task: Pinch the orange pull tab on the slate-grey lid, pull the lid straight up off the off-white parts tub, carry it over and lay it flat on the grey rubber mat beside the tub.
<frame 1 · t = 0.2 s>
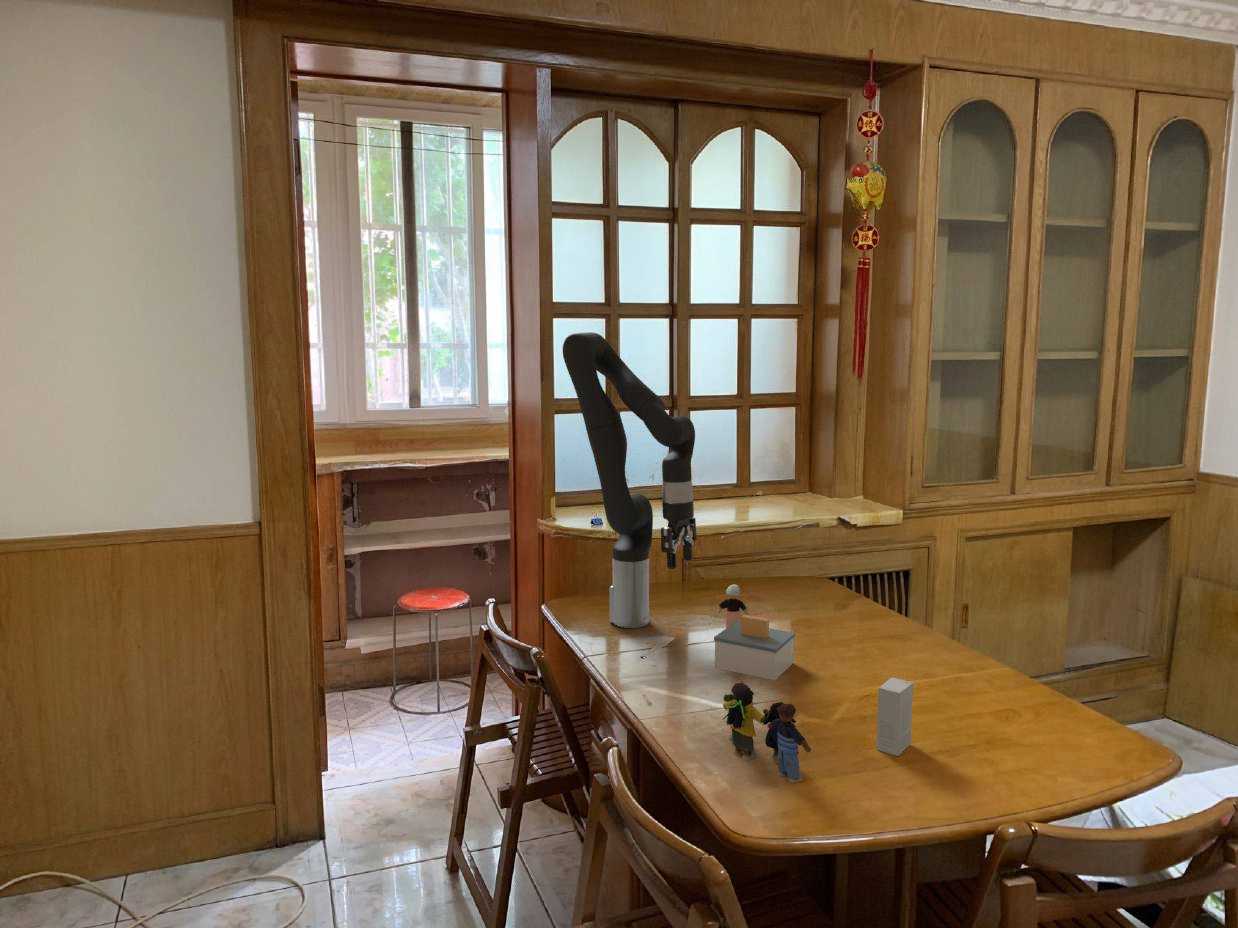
hand: (679, 564, 219), 17 cm above the table, tool pointing down, fingers open, 8 cm apart
doll family: (763, 761, 158), on the table
lid: (754, 642, 198), point 6 cm above the table, touching tub
grandmother figurine: (732, 635, 220), on the table
tub: (754, 668, 199), on the table
steel part: (738, 664, 199), point 1 cm above the table, touching tub
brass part: (769, 665, 198), point 1 cm above the table, touching tub
mat: (685, 654, 207), on the table
skincare box: (893, 748, 162), on the table
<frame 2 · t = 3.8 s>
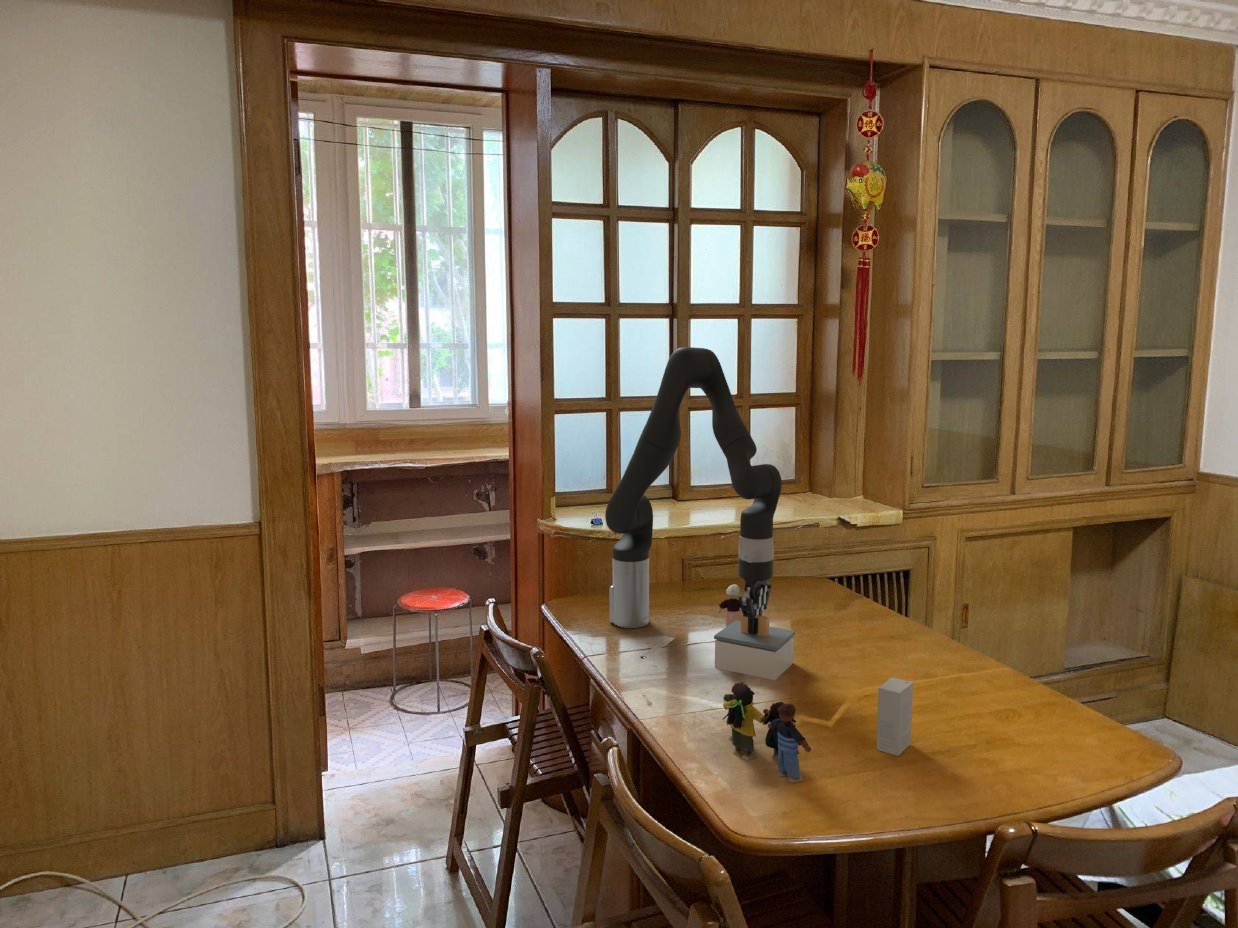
hand: (754, 631, 197), 8 cm above the table, tool pointing down, fingers closed on lid
lid: (754, 640, 198), point 6 cm above the table, touching gripper
everything else where it was.
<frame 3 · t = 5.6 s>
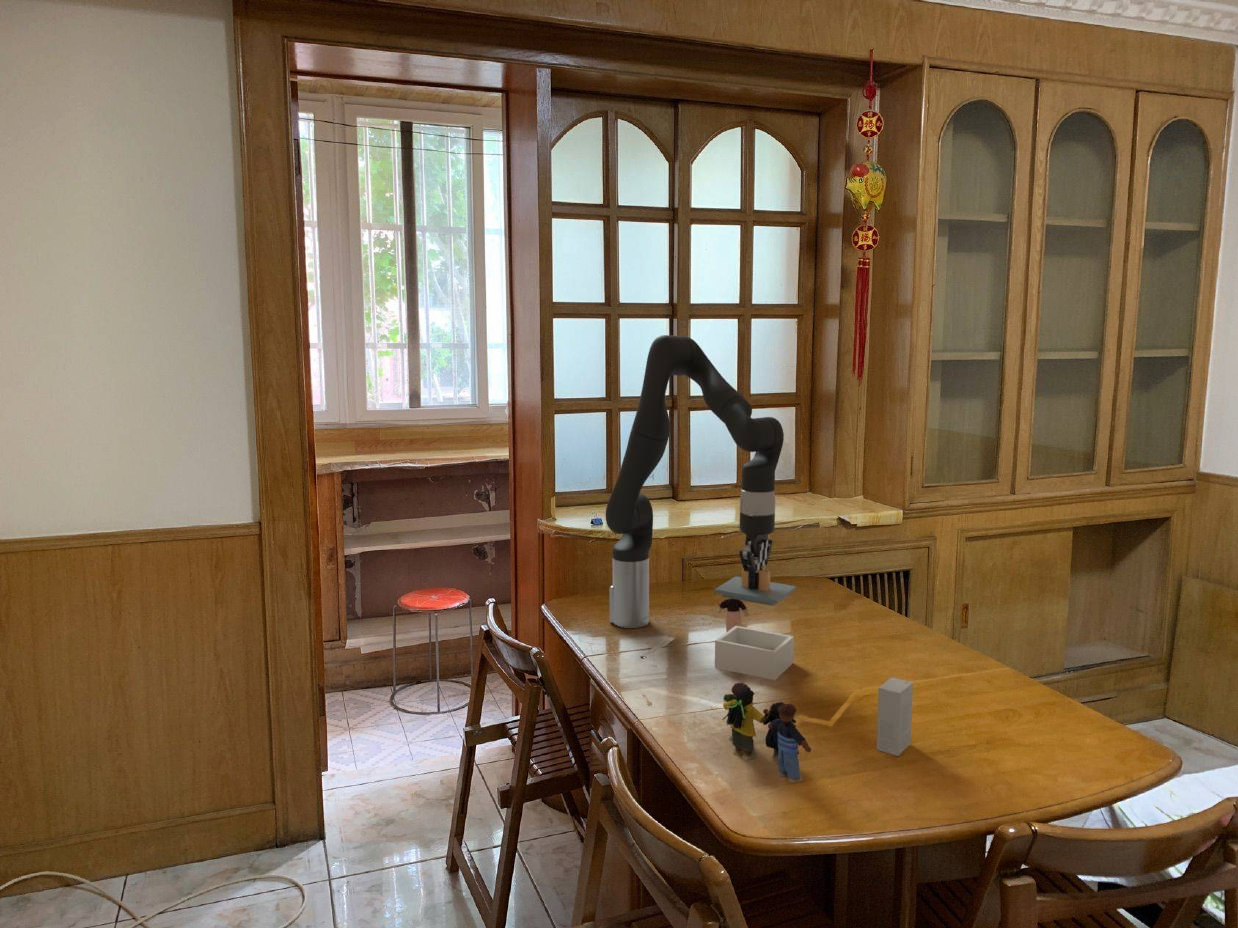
hand: (755, 587, 196), 19 cm above the table, tool pointing down, fingers closed on lid
lid: (755, 595, 196), point 17 cm above the table, touching gripper
everything else where it was.
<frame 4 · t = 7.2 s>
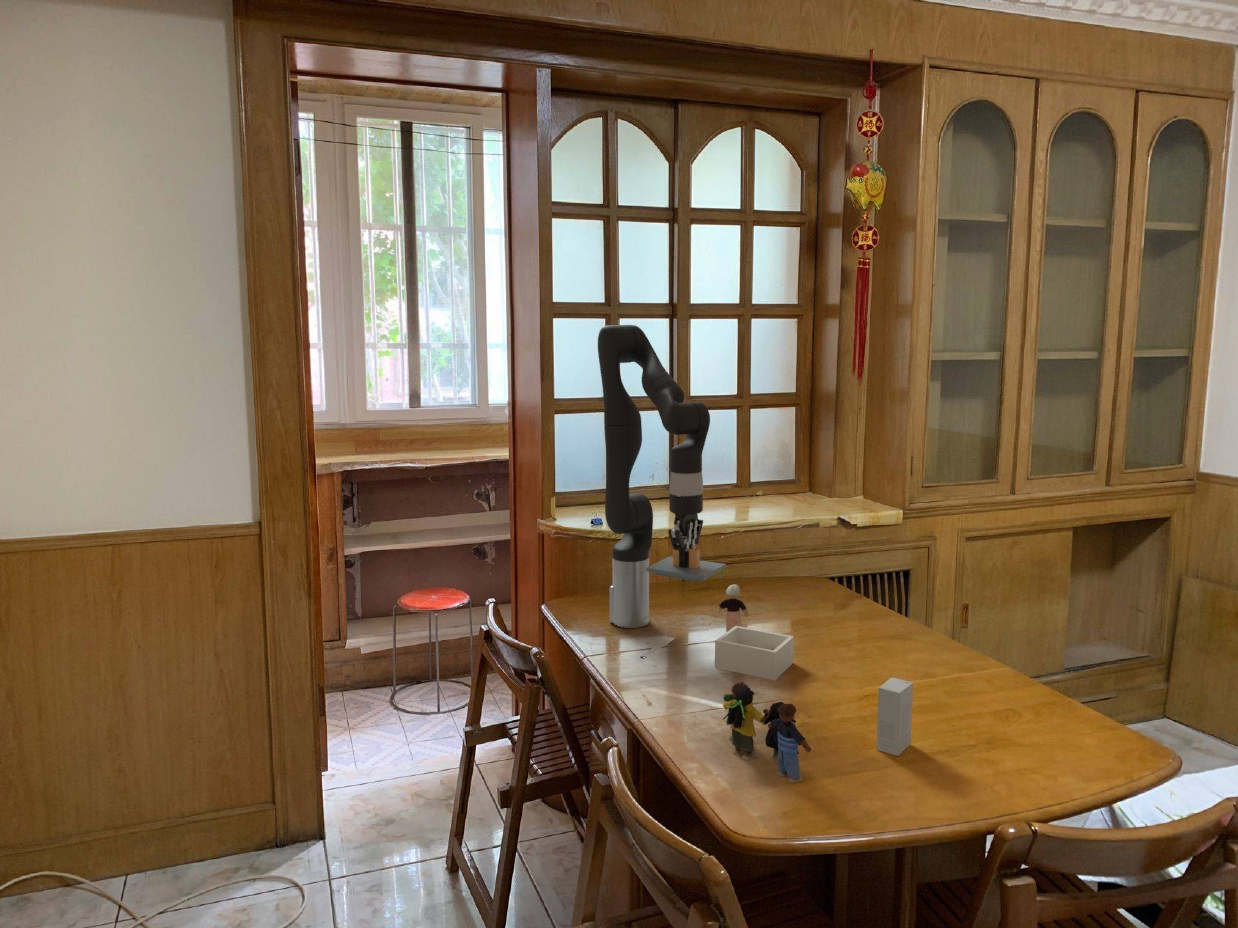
hand: (685, 565, 204), 21 cm above the table, tool pointing down, fingers closed on lid
lid: (686, 573, 204), point 19 cm above the table, touching gripper
everything else where it was.
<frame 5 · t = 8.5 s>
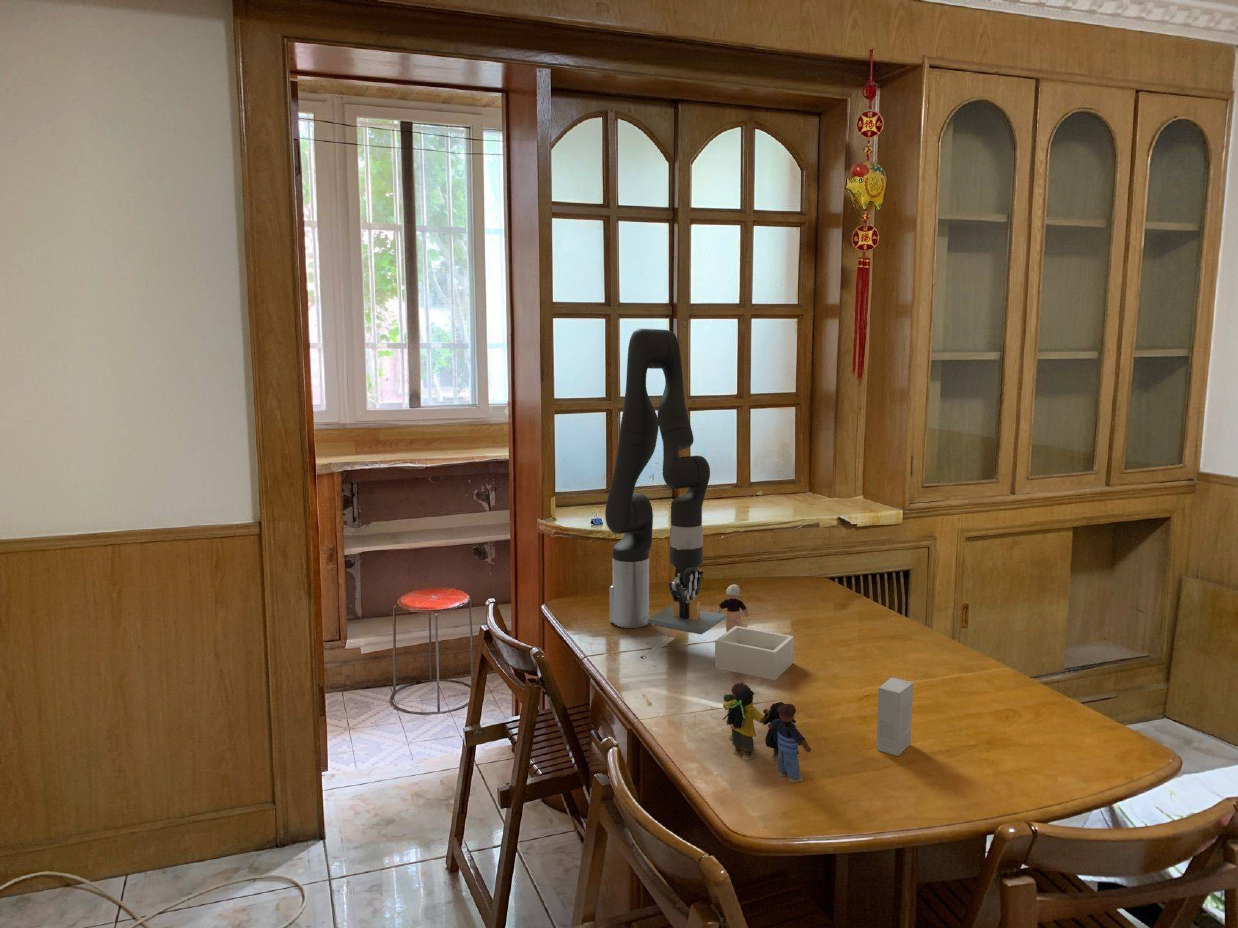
hand: (686, 616, 206), 9 cm above the table, tool pointing down, fingers closed on lid
lid: (686, 624, 206), point 7 cm above the table, touching gripper
everything else where it was.
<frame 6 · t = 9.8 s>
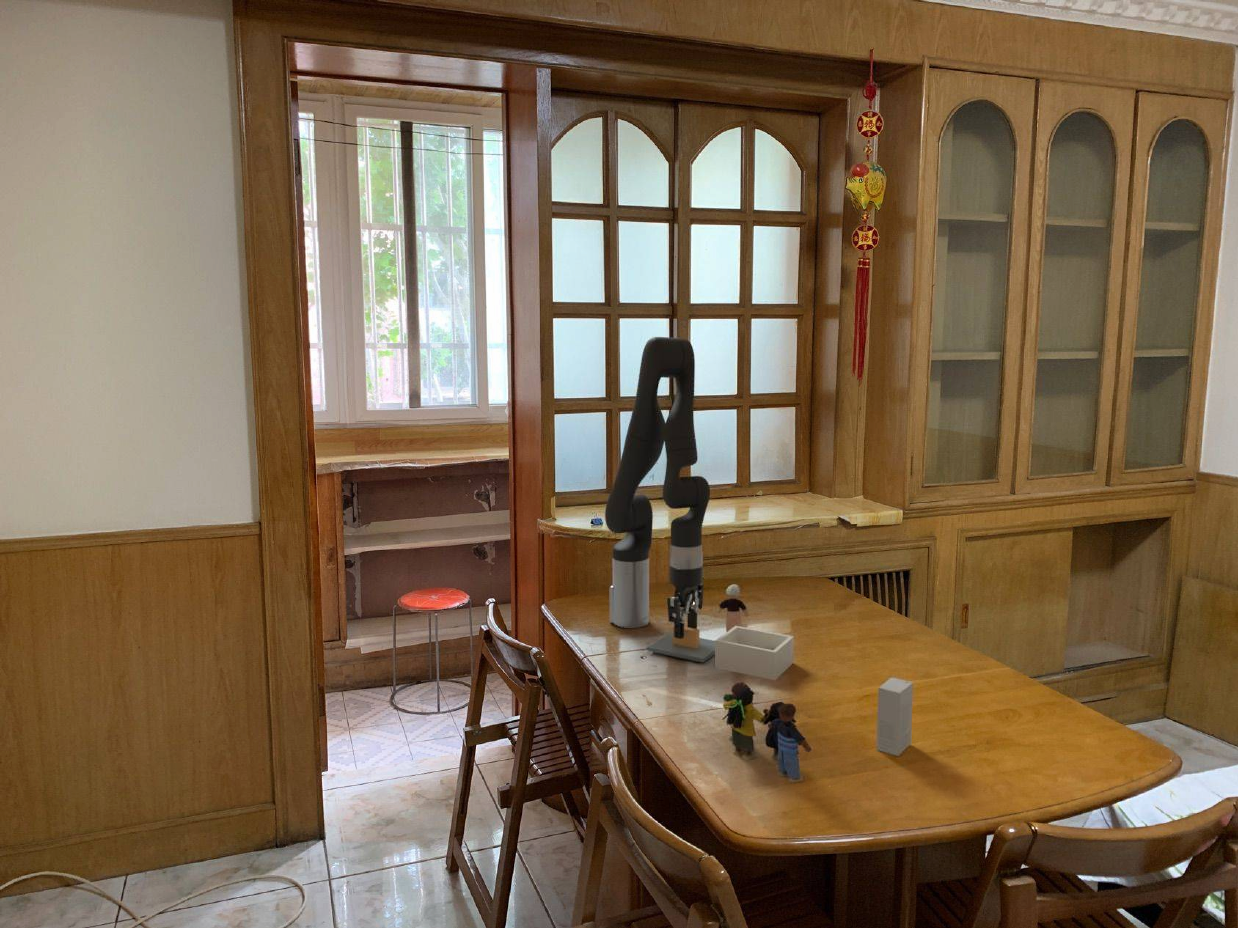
hand: (685, 633, 206), 5 cm above the table, tool pointing down, fingers open, 6 cm apart
lid: (686, 652, 207), resting on mat
everything else where it was.
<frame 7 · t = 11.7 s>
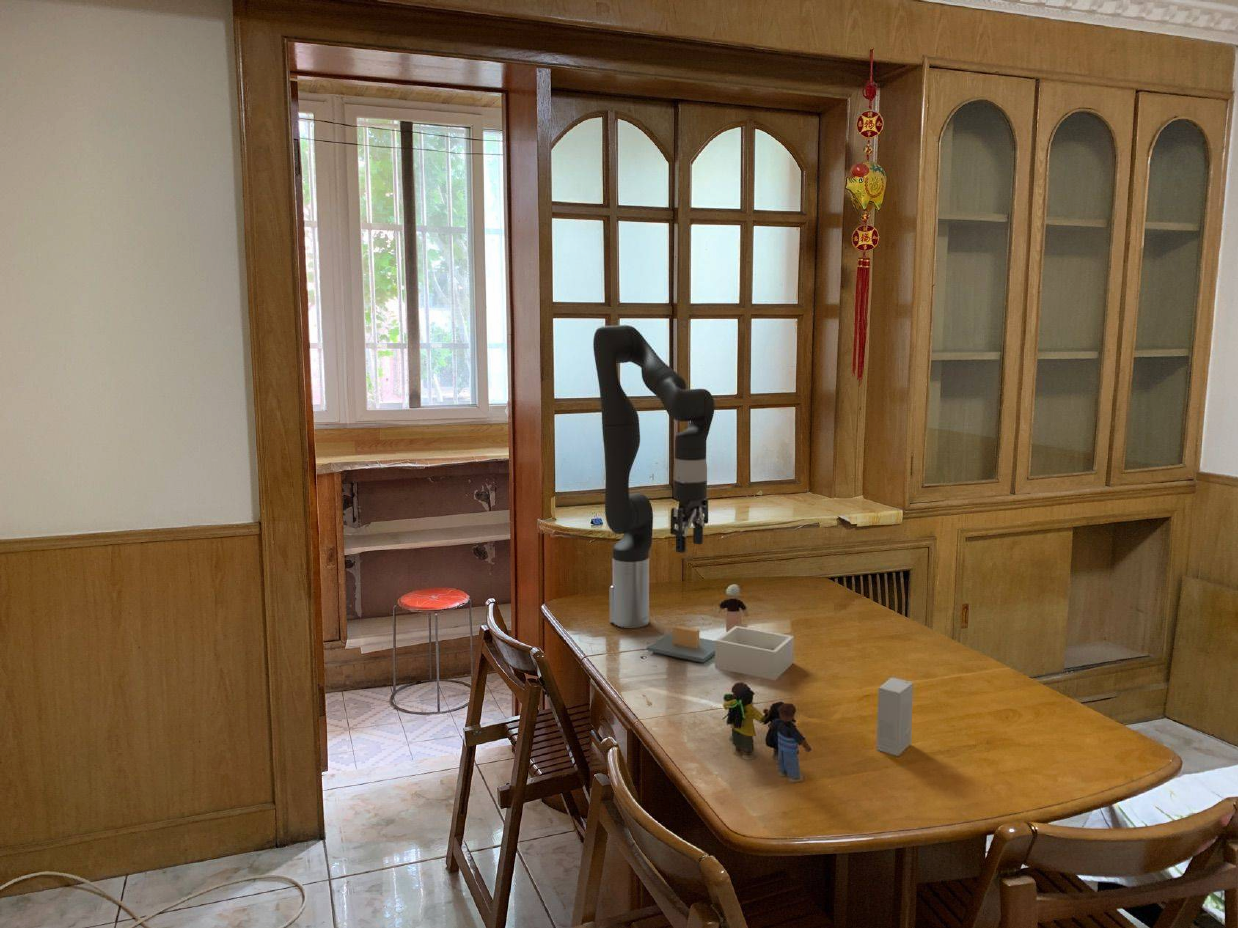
hand: (689, 547, 204), 25 cm above the table, tool pointing down, fingers open, 8 cm apart
nothing on the table moved.
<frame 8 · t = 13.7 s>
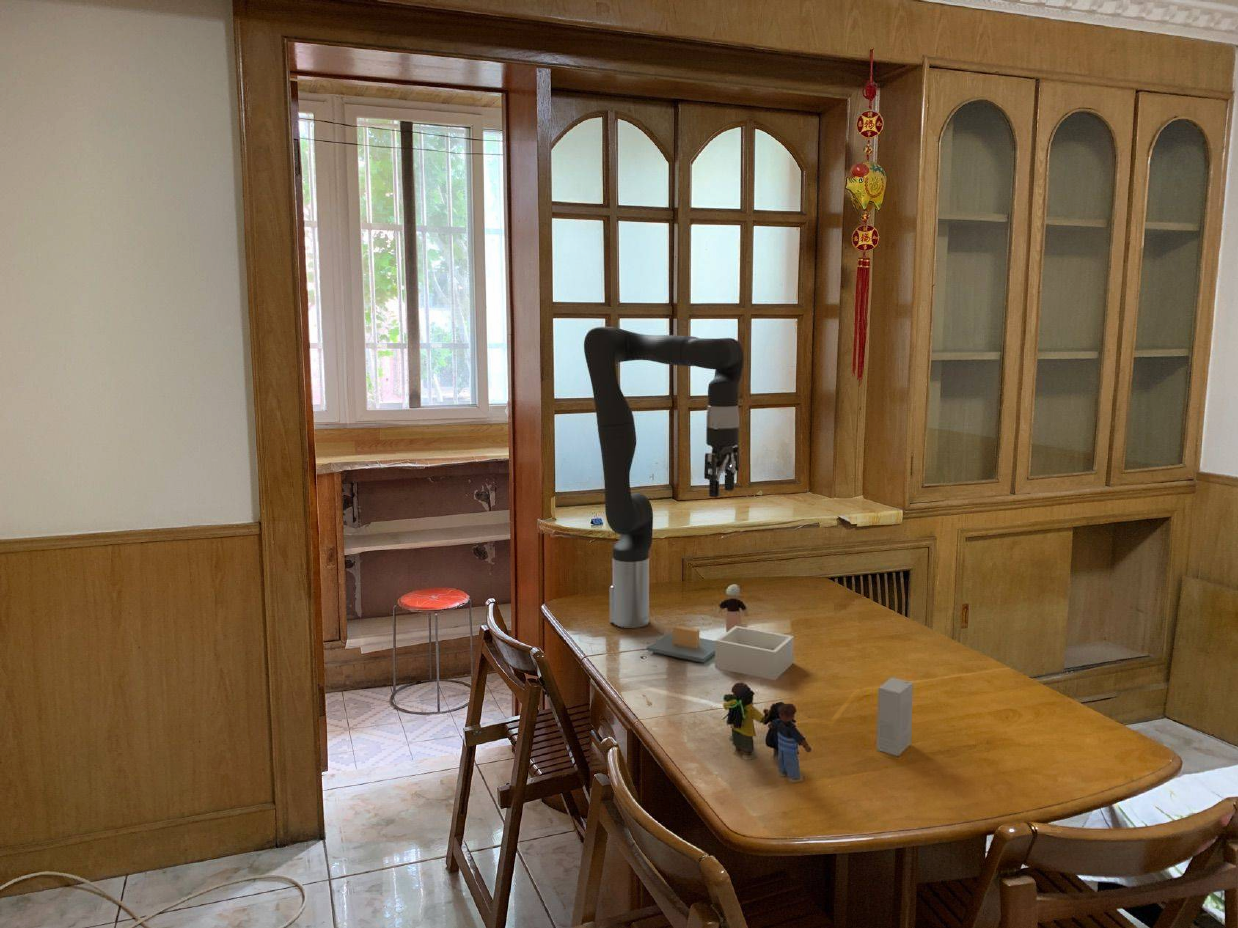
hand: (721, 493, 210), 36 cm above the table, tool pointing down, fingers open, 8 cm apart
nothing on the table moved.
at the end: lid inside the target area (0.1 cm from its centre), point 0.5 cm above the table; lid tilted 0°; the gripper is holding nothing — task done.
